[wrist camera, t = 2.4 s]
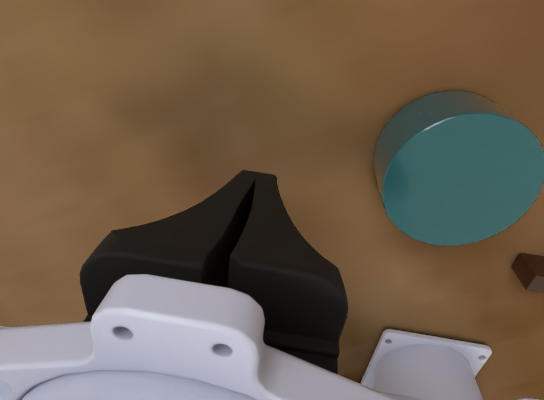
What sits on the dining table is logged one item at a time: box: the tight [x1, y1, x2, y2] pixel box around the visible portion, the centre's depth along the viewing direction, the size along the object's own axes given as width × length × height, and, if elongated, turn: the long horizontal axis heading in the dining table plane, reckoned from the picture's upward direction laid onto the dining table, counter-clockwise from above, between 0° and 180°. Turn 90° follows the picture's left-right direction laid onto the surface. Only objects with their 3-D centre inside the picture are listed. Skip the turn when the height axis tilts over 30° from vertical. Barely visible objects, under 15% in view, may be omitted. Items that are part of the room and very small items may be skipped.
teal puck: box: [373, 90, 544, 246], centre depth 18 cm, size 7×7×4 cm
